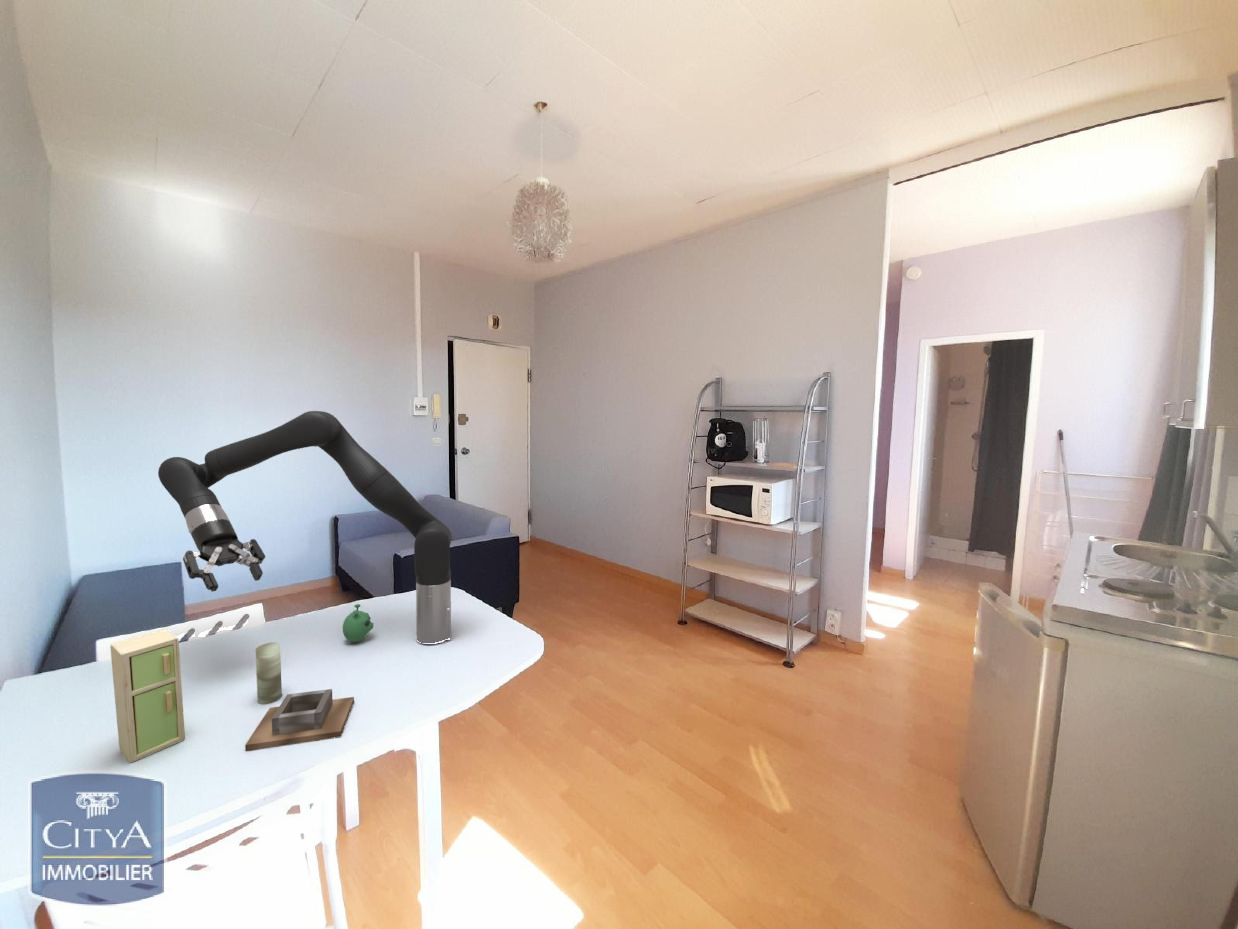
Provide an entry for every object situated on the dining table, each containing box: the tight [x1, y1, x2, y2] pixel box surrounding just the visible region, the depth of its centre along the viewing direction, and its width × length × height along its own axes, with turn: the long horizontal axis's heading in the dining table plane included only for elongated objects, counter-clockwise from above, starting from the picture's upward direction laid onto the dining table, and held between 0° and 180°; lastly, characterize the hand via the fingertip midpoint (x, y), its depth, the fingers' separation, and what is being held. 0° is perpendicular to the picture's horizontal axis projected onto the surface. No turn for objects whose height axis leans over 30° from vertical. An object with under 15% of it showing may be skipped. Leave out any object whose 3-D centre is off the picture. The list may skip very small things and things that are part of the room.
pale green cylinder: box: [255, 642, 283, 705], centre depth 106 cm, size 4×4×12 cm
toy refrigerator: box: [110, 628, 186, 764], centre depth 90 cm, size 8×7×21 cm
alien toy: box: [342, 603, 375, 643], centre depth 134 cm, size 7×8×10 cm
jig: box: [244, 688, 355, 752], centre depth 98 cm, size 16×12×5 cm
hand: (237, 583), depth 110 cm, fingers open, 8 cm apart
